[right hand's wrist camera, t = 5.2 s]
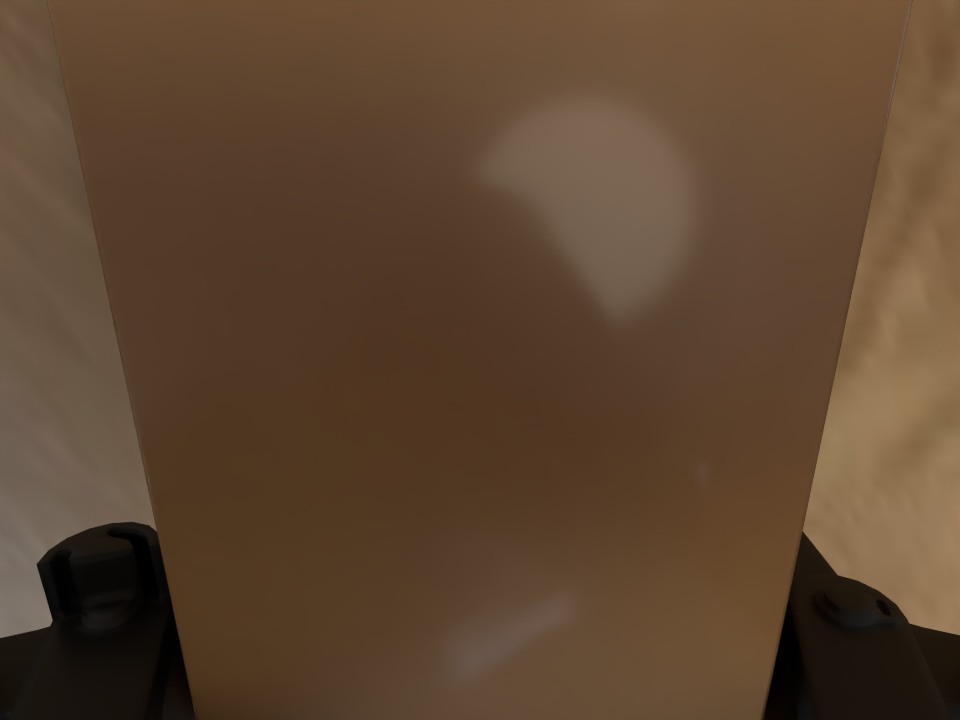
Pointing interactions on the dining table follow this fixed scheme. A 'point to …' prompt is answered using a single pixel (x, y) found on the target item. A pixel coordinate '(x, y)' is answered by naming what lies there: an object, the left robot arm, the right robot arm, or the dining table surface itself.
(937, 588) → the dining table surface
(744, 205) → the bar
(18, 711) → the right robot arm
